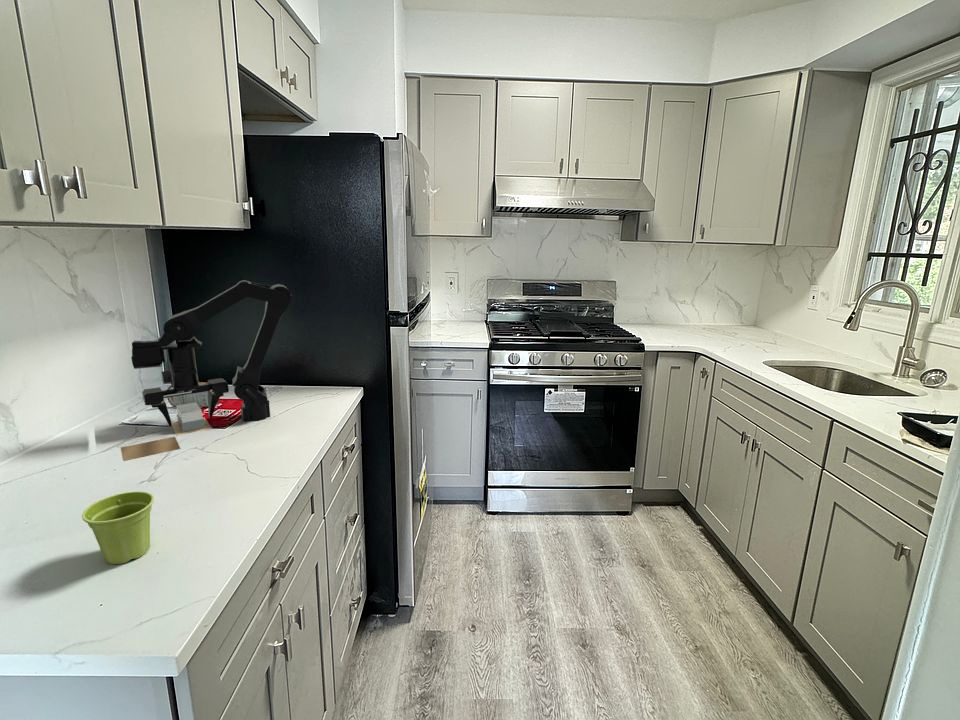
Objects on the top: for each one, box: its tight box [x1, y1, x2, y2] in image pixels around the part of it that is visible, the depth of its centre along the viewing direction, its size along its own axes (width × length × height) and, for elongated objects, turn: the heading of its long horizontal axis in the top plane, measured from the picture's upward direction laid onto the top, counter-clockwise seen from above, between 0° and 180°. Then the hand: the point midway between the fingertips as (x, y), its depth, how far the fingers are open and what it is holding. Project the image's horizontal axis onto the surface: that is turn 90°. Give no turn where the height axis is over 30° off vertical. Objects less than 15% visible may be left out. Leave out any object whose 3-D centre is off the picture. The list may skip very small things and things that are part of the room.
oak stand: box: [171, 416, 213, 436], centre depth 130 cm, size 8×10×2 cm
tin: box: [166, 381, 220, 407], centre depth 146 cm, size 15×3×8 cm, turn 84°
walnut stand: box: [120, 436, 182, 462], centre depth 117 cm, size 11×9×2 cm
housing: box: [176, 403, 205, 433], centre depth 129 cm, size 5×8×5 cm, turn 39°
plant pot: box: [81, 490, 155, 565], centre depth 80 cm, size 9×9×9 cm
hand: (190, 422), depth 130 cm, fingers open, 9 cm apart
